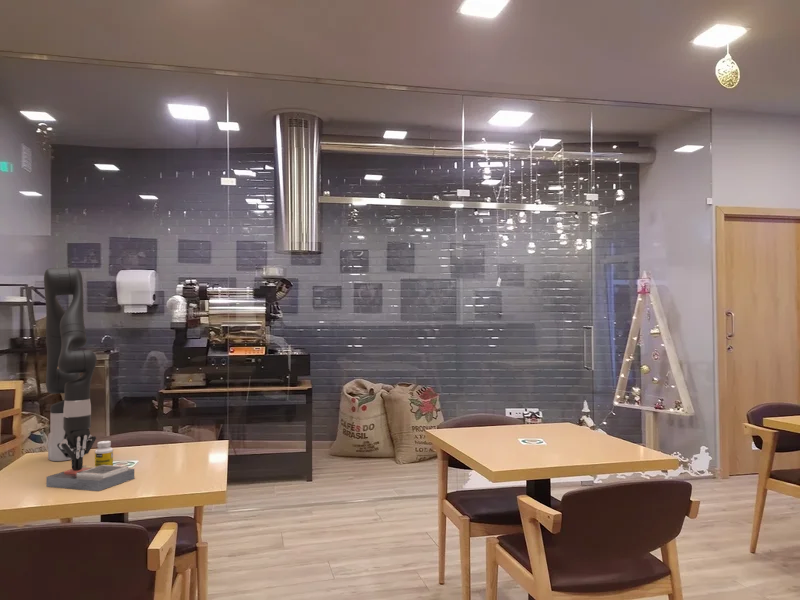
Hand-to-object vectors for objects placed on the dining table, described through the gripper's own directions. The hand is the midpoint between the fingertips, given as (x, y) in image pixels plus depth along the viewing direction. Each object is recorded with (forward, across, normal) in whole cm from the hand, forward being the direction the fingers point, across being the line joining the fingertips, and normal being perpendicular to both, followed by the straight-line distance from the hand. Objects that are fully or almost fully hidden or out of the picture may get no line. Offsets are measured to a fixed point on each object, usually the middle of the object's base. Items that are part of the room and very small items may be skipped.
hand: (77, 469), depth 178 cm
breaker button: (+4, 0, 0) cm, 4 cm away
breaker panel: (+4, 0, +5) cm, 6 cm away
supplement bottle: (+4, -12, -2) cm, 13 cm away
